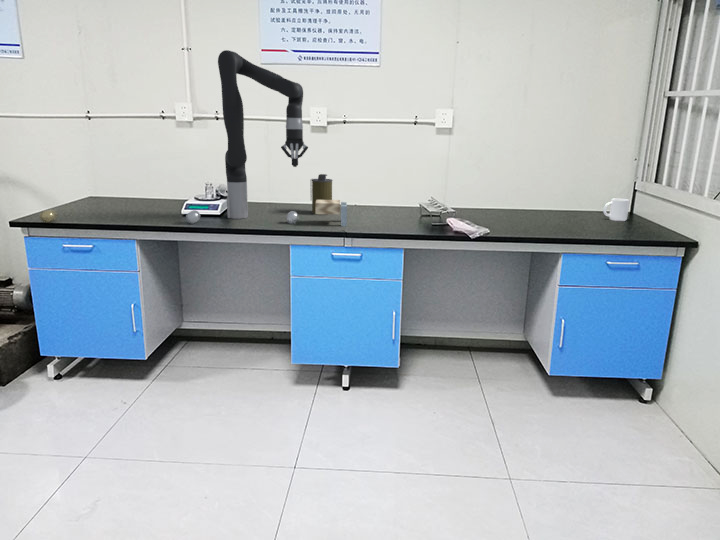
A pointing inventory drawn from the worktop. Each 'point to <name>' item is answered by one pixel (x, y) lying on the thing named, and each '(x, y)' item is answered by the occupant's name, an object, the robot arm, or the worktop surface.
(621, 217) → the mug
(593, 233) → the worktop surface
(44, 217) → the olive tan ovoid
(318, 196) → the canister
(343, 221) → the post
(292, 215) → the mottled grey ball
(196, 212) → the translucent grey ball
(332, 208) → the slab
